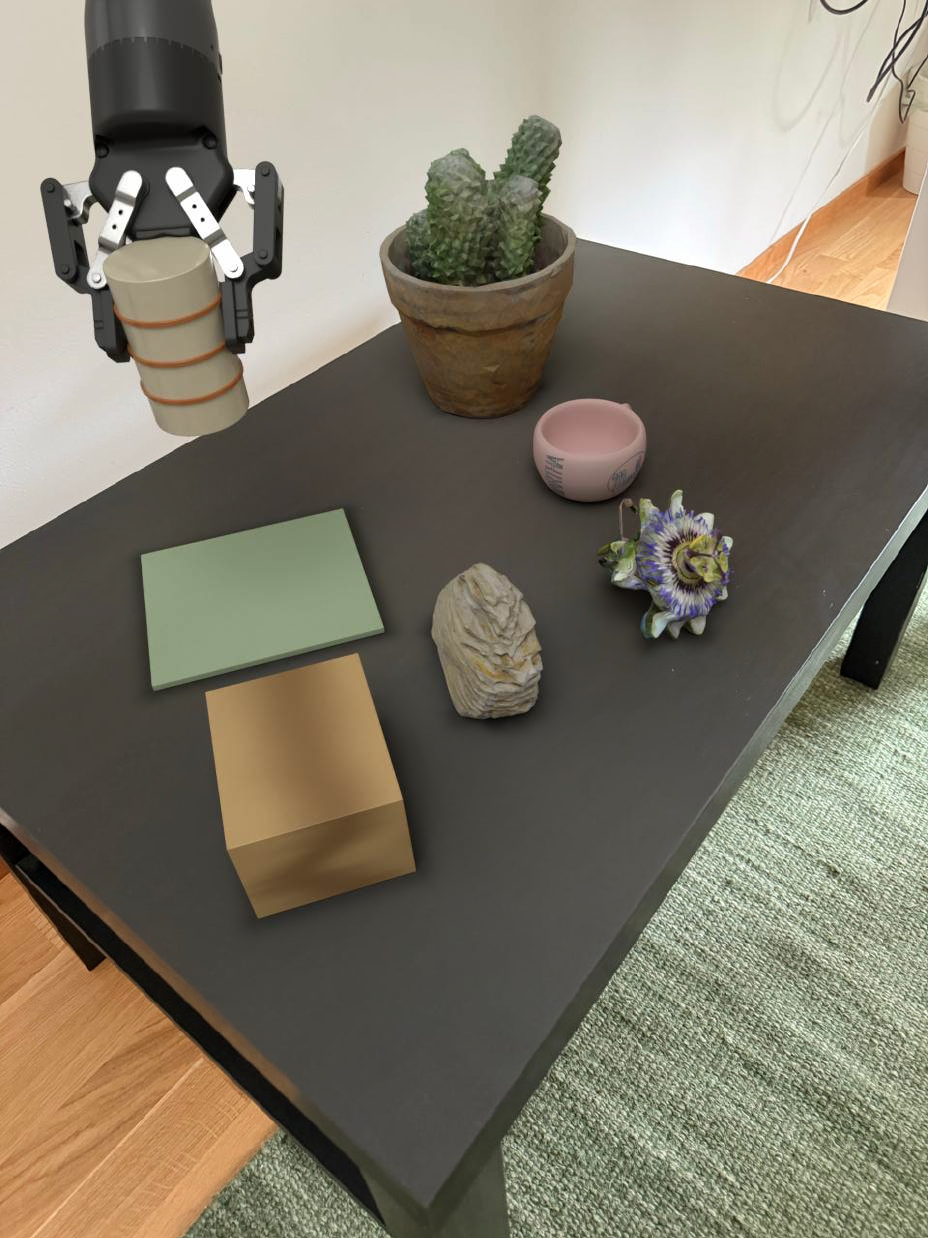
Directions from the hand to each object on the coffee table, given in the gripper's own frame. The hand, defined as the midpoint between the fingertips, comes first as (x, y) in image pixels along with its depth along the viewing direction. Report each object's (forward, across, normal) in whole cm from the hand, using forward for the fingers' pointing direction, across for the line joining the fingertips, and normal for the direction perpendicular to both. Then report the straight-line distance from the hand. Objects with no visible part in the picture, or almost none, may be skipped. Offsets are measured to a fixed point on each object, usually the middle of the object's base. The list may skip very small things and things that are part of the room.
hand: (177, 354), depth 55 cm
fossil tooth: (+21, +17, +15) cm, 31 cm away
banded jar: (+2, 0, +5) cm, 5 cm away
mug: (+5, +28, +32) cm, 43 cm away
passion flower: (+17, +31, +19) cm, 40 cm away
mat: (+14, -2, +22) cm, 26 cm away
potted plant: (-7, +19, +43) cm, 47 cm away
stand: (+29, +5, +7) cm, 30 cm away
